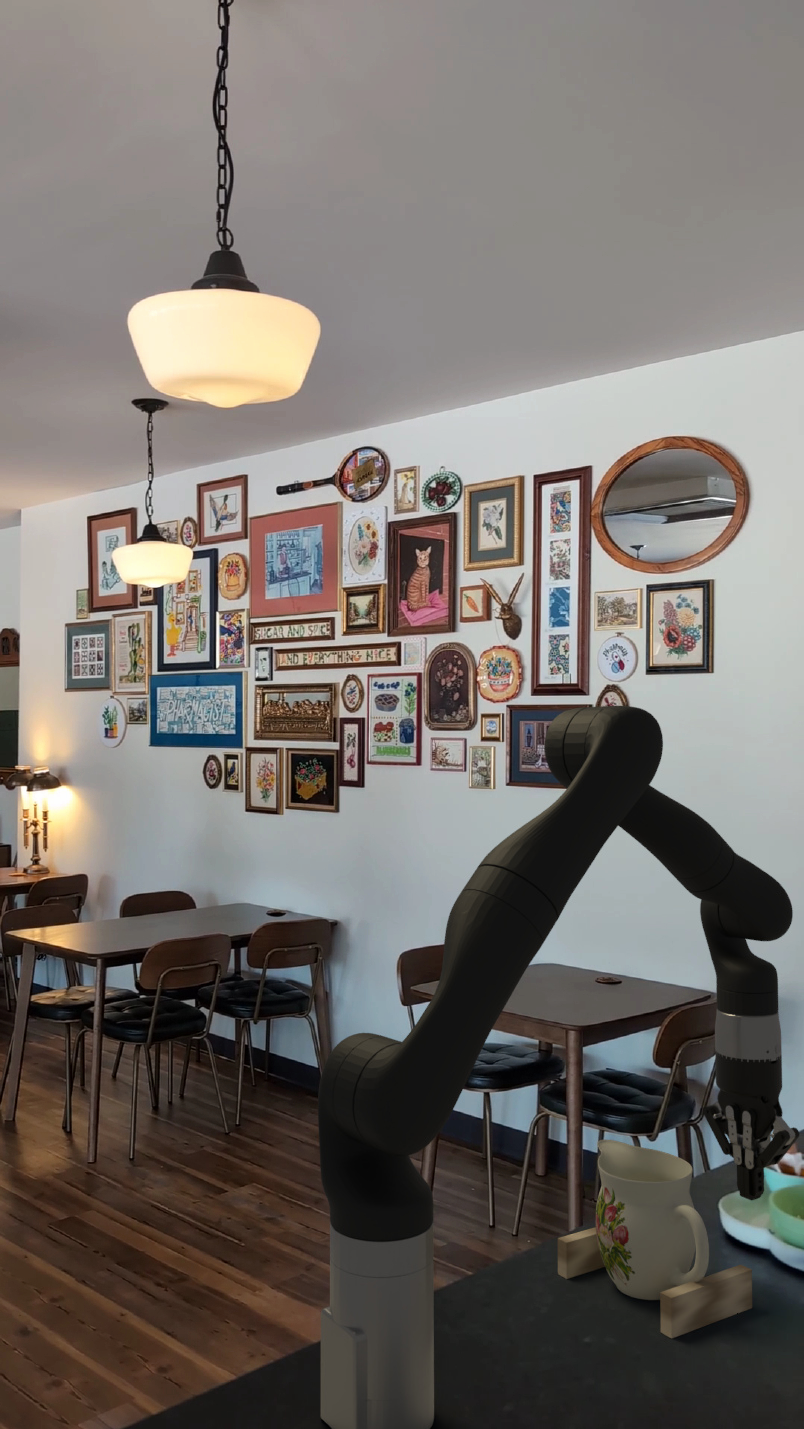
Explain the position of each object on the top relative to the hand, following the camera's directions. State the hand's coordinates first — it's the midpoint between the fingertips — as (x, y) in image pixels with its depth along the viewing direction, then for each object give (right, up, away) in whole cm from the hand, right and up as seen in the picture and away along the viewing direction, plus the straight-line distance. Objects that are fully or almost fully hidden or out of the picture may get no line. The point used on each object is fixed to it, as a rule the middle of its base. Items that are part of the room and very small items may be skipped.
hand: (750, 1197), depth 137 cm
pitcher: (-14, -7, -9) cm, 18 cm away
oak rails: (-14, -7, -9) cm, 18 cm away
